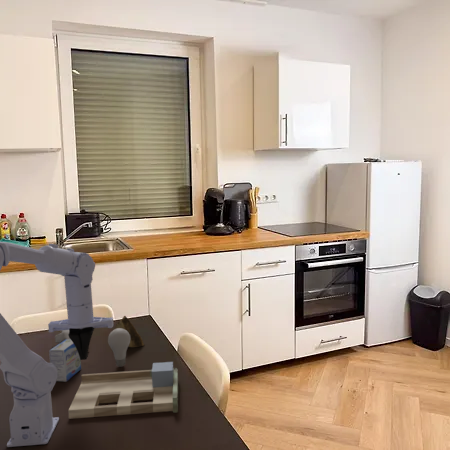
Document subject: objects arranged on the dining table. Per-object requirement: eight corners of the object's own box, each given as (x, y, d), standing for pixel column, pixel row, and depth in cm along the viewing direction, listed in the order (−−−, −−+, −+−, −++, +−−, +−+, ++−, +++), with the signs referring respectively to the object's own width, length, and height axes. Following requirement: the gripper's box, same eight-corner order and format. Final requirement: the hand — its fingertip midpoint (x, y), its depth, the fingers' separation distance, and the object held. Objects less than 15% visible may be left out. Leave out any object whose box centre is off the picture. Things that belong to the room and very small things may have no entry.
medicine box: (66, 382, 120) (64, 350, 119) (51, 381, 120) (48, 349, 119) (81, 369, 127) (79, 339, 126) (67, 368, 128) (64, 338, 127)
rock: (103, 334, 148) (108, 340, 139) (118, 310, 150) (123, 315, 141) (132, 349, 151) (138, 356, 142) (145, 326, 153) (153, 331, 144)
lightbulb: (109, 372, 124) (107, 333, 123) (109, 363, 130) (107, 326, 129) (132, 369, 126) (130, 331, 125) (131, 361, 132) (129, 324, 130)
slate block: (173, 386, 111) (172, 370, 111) (152, 387, 111) (151, 371, 111) (173, 376, 116) (172, 361, 116) (153, 378, 116) (152, 363, 115)
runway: (177, 412, 103) (177, 397, 103) (68, 420, 101) (67, 405, 100) (178, 380, 118) (177, 368, 118) (83, 387, 116) (82, 374, 116)
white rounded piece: (81, 323, 154) (92, 331, 141) (83, 338, 154) (93, 348, 141) (52, 329, 149) (59, 337, 136) (53, 344, 149) (61, 354, 136)
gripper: (113, 295, 112) (117, 348, 113) (52, 299, 110) (57, 353, 112) (109, 304, 105) (113, 361, 107) (43, 308, 103) (49, 365, 105)
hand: (84, 358), depth 109 cm, fingers closed
